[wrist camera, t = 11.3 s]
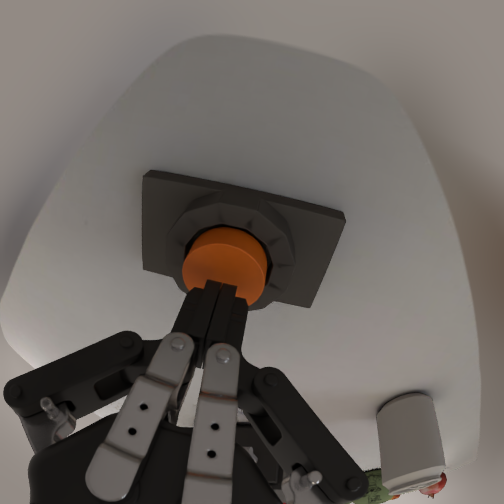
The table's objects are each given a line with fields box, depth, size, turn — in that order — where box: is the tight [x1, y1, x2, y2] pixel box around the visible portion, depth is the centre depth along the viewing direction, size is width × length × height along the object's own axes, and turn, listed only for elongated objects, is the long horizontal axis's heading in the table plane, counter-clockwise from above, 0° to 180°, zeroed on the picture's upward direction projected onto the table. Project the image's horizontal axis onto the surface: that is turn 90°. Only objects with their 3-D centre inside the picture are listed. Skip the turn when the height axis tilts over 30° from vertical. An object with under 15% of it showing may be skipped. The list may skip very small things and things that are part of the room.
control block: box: [142, 170, 346, 311], centre depth 18 cm, size 12×7×3 cm, turn 79°
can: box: [376, 393, 446, 495], centre depth 24 cm, size 8×8×12 cm
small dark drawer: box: [235, 428, 279, 484], centre depth 32 cm, size 18×11×8 cm, turn 16°
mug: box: [345, 470, 394, 504], centre depth 47 cm, size 16×13×9 cm
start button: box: [182, 227, 267, 306], centre depth 16 cm, size 4×4×2 cm
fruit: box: [419, 472, 447, 498], centre depth 53 cm, size 9×10×10 cm
